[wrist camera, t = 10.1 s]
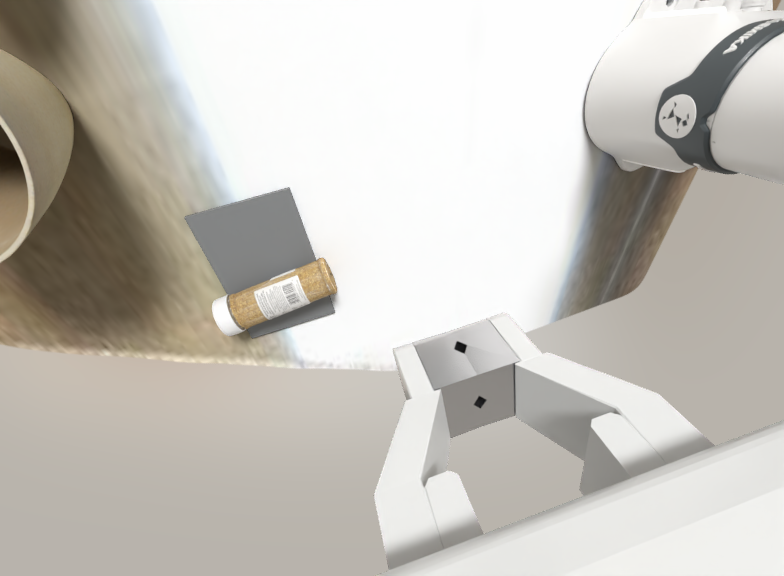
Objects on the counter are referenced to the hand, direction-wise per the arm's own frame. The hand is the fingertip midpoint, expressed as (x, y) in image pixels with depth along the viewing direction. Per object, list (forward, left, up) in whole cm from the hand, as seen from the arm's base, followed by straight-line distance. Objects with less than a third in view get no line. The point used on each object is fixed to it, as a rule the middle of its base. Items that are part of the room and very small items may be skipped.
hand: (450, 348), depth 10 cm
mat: (+11, +13, -34) cm, 38 cm away
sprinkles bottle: (+4, +15, -32) cm, 35 cm away
